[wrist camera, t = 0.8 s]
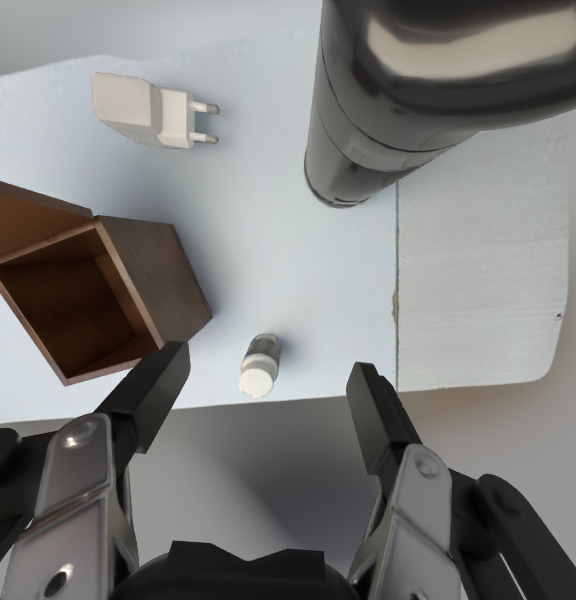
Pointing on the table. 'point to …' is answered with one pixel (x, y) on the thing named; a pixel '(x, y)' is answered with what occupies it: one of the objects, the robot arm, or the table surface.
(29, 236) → the lid
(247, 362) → the pill bottle
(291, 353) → the table surface
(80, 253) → the supply box
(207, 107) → the power adapter
